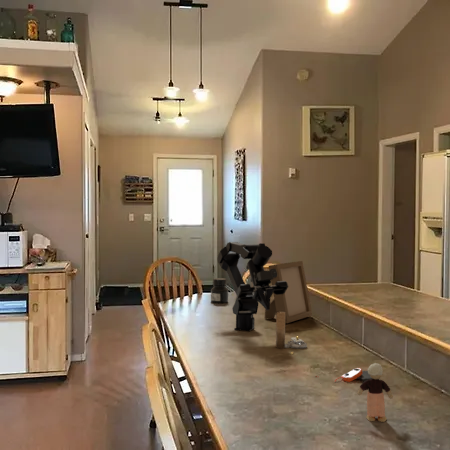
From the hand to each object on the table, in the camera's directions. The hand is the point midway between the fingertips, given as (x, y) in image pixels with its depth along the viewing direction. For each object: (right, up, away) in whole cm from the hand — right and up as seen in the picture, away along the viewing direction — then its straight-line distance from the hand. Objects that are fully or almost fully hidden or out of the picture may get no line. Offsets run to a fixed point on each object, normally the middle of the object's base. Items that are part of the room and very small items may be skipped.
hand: (268, 309), depth 189 cm
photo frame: (+11, -11, +42) cm, 45 cm away
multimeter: (+18, -14, -42) cm, 48 cm away
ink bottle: (-18, -10, +83) cm, 85 cm away
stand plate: (+9, -12, -9) cm, 17 cm away
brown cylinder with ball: (+7, -11, -10) cm, 16 cm away
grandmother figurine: (+18, -14, -70) cm, 73 cm away
